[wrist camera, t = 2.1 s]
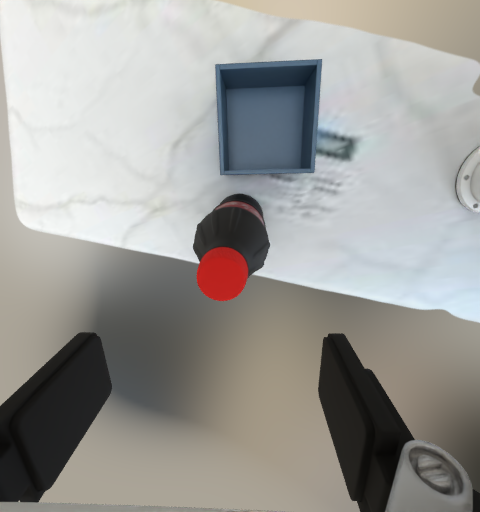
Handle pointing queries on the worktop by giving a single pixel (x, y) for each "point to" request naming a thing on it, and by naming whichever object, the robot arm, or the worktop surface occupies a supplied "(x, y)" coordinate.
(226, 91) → the case
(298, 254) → the worktop surface
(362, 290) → the worktop surface
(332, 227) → the worktop surface
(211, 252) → the cola bottle
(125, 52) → the worktop surface
